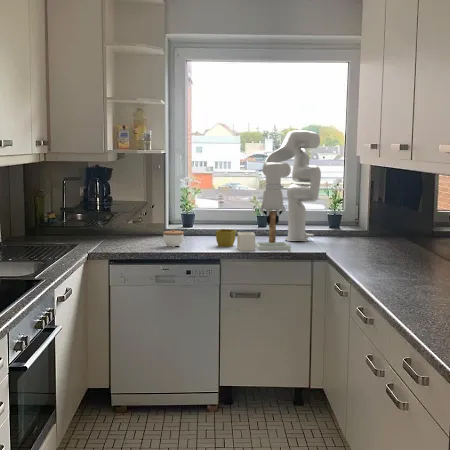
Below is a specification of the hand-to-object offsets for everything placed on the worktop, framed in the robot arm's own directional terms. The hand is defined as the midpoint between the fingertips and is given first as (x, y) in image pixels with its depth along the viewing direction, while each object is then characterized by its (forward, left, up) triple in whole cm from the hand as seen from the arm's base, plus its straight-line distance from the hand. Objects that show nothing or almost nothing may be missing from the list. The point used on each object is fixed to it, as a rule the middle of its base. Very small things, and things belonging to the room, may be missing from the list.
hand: (272, 223), depth 325 cm
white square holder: (+14, +3, -14) cm, 20 cm away
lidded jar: (+50, -15, -14) cm, 54 cm away
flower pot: (+23, -9, -14) cm, 28 cm away
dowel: (0, 0, -10) cm, 10 cm away
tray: (0, 0, -14) cm, 14 cm away
